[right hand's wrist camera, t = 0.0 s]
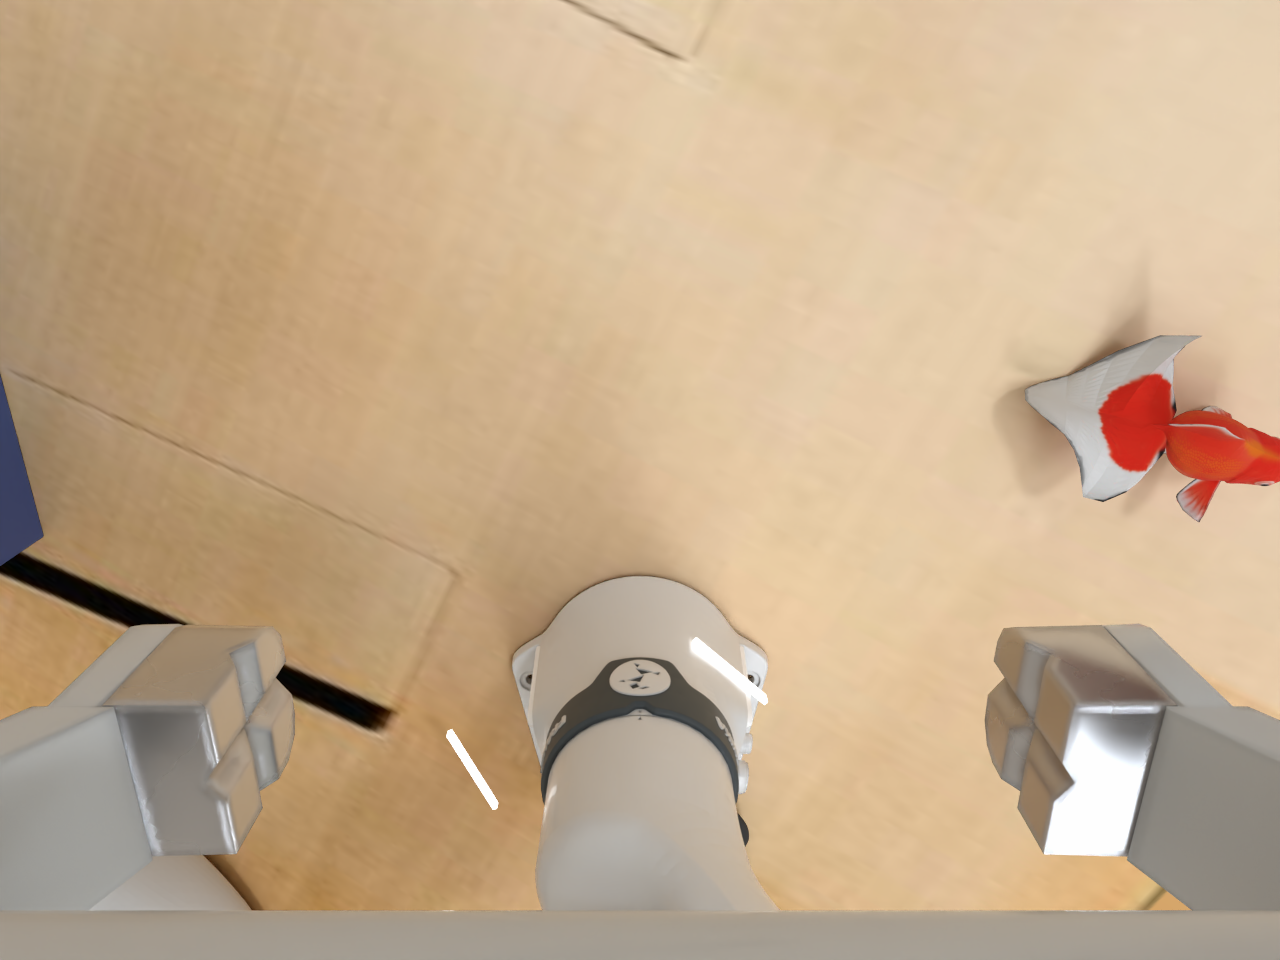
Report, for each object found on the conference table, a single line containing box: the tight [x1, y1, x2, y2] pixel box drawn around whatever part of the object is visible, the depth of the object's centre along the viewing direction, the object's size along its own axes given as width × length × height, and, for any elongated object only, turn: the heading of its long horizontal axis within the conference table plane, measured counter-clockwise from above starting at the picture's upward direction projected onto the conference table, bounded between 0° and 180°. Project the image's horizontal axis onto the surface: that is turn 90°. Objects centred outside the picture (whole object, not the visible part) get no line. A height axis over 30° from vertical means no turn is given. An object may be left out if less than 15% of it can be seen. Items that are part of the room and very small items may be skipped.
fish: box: [1025, 335, 1280, 522], centre depth 55 cm, size 11×16×10 cm
